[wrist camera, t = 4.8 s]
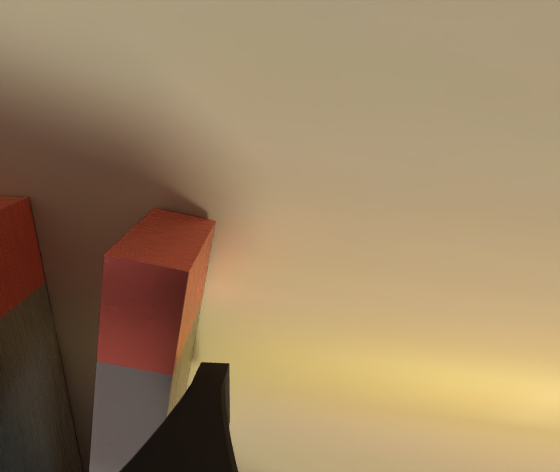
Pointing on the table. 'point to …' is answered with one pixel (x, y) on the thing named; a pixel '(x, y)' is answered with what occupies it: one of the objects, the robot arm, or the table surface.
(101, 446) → the tongs jaw
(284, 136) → the table surface
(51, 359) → the tongs body
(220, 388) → the robot arm
